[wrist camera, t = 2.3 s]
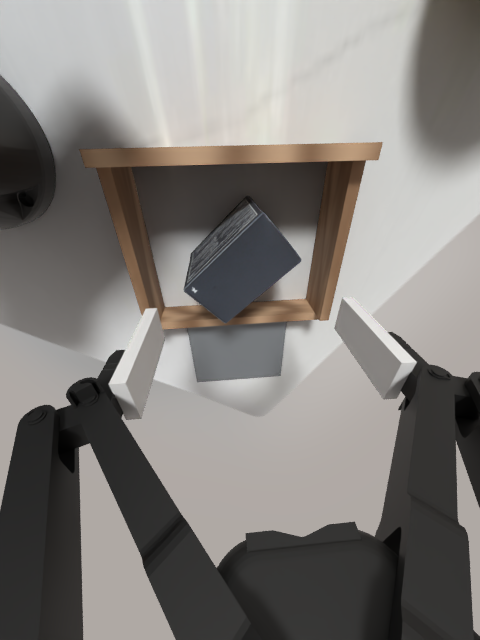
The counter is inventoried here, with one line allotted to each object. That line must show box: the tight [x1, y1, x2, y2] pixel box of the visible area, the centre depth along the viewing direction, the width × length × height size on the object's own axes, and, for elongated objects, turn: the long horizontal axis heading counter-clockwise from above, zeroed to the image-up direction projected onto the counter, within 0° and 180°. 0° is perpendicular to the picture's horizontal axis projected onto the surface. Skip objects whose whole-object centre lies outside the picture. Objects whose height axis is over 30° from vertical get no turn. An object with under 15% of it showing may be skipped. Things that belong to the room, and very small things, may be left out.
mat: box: [187, 322, 286, 382], centre depth 42 cm, size 16×13×1 cm
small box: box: [184, 196, 301, 323], centre depth 27 cm, size 11×6×10 cm, turn 133°
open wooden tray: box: [79, 142, 383, 329], centre depth 28 cm, size 24×20×8 cm
